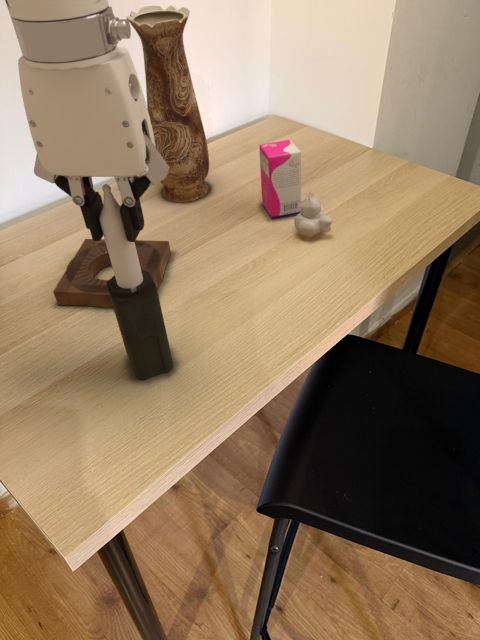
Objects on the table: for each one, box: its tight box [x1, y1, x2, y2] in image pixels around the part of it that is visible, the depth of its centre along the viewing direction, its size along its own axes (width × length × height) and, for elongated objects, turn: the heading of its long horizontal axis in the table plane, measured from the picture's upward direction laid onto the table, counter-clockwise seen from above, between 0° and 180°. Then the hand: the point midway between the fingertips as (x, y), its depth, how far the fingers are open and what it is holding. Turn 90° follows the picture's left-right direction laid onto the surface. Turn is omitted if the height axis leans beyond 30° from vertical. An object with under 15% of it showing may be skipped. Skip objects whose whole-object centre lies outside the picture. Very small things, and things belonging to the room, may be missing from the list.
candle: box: [99, 183, 174, 381], centre depth 60 cm, size 5×5×25 cm
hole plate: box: [52, 238, 172, 309], centre depth 82 cm, size 14×14×2 cm
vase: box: [125, 5, 210, 203], centre depth 92 cm, size 10×11×30 cm
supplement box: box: [258, 139, 302, 221], centre depth 92 cm, size 6×6×12 cm
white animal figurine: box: [293, 189, 334, 238], centre depth 87 cm, size 5×7×8 cm
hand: (117, 232), depth 55 cm, fingers closed on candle, 3 cm apart
